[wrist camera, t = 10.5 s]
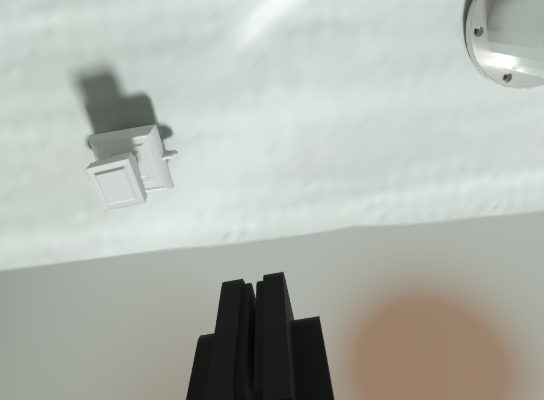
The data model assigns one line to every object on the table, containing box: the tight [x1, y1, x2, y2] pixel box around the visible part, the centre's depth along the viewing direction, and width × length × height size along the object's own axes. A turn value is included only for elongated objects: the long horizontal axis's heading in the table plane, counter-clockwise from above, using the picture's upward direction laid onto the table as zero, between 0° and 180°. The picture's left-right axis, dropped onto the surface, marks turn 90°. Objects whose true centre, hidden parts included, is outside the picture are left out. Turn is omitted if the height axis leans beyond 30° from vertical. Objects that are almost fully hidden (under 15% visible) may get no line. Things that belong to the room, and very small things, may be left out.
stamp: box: [85, 124, 178, 211], centre depth 40 cm, size 9×7×8 cm
